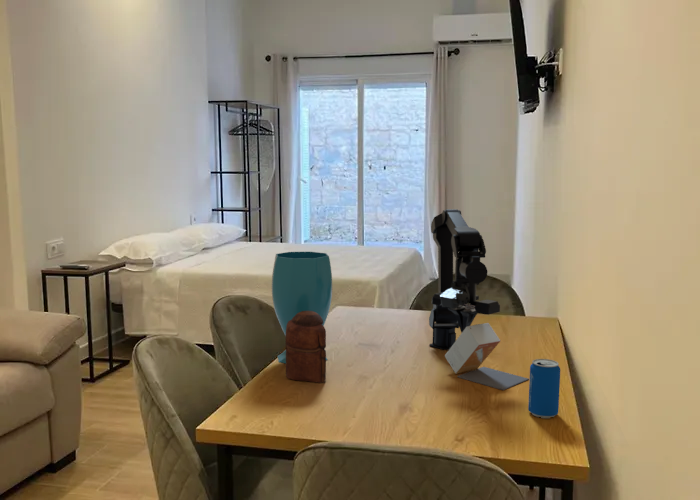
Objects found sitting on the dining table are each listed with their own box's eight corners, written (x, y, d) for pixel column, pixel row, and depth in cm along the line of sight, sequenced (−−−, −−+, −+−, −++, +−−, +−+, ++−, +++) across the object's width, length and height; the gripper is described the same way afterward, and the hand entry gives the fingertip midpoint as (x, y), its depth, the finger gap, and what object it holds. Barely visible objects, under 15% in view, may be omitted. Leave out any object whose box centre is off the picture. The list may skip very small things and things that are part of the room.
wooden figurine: (332, 377, 172) (332, 310, 169) (323, 384, 166) (324, 315, 163) (290, 372, 175) (290, 306, 173) (280, 380, 169) (280, 311, 167)
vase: (336, 365, 182) (336, 258, 178) (273, 368, 179) (272, 259, 175) (327, 348, 199) (328, 250, 195) (270, 350, 196) (270, 251, 192)
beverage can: (524, 409, 150) (526, 358, 148) (551, 408, 150) (553, 358, 149) (534, 420, 144) (536, 367, 142) (562, 419, 144) (565, 366, 143)
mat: (457, 377, 173) (457, 375, 172) (483, 367, 181) (483, 366, 181) (503, 390, 163) (503, 389, 162) (528, 379, 171) (528, 378, 171)
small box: (455, 374, 175) (478, 345, 167) (443, 355, 178) (466, 325, 170) (477, 369, 179) (501, 340, 171) (465, 351, 183) (488, 322, 175)
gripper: (419, 276, 176) (418, 332, 178) (476, 285, 163) (474, 346, 165) (445, 271, 184) (443, 326, 186) (502, 280, 171) (499, 338, 173)
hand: (464, 334), depth 177 cm, fingers closed
